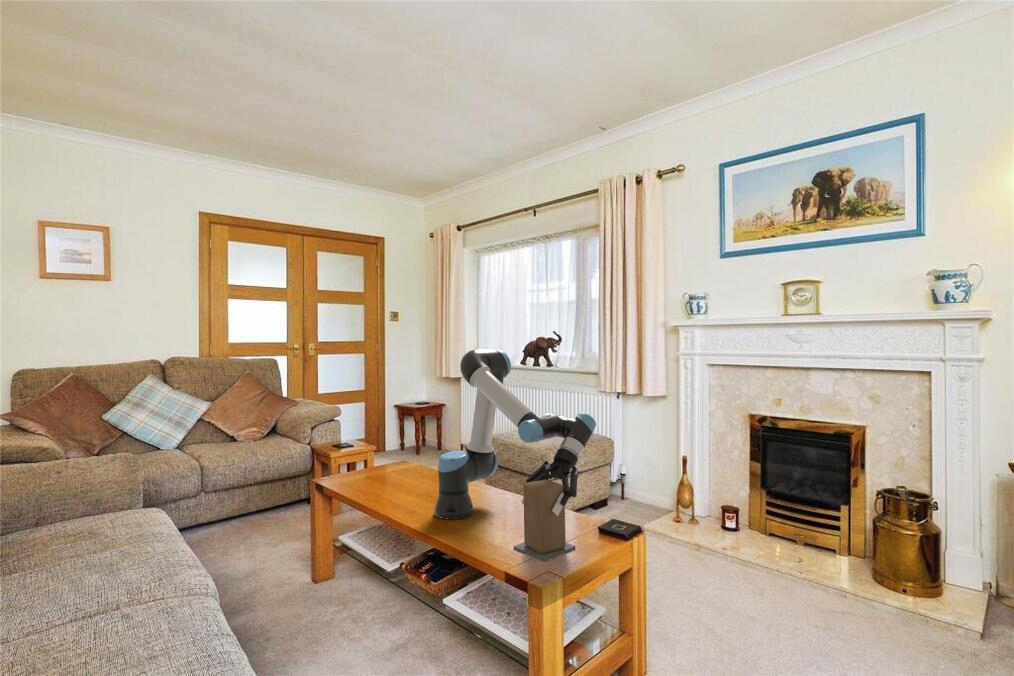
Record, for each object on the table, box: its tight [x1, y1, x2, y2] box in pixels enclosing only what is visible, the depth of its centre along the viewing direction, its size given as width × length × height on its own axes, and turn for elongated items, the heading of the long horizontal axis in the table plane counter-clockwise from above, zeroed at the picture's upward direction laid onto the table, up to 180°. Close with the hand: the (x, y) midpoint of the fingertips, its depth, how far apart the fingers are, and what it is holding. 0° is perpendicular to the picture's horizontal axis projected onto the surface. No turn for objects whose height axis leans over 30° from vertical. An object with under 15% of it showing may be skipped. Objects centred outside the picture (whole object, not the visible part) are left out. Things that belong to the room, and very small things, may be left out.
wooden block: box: [522, 479, 567, 554], centre depth 162 cm, size 10×10×20 cm
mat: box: [513, 541, 576, 562], centre depth 163 cm, size 14×14×1 cm
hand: (538, 508), depth 161 cm, fingers open, 13 cm apart
